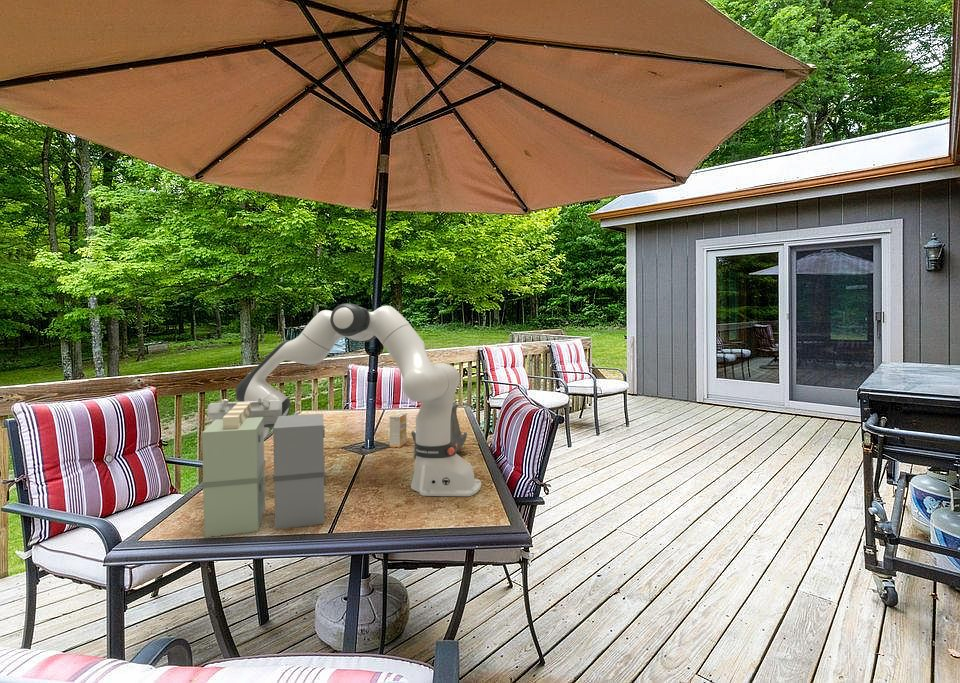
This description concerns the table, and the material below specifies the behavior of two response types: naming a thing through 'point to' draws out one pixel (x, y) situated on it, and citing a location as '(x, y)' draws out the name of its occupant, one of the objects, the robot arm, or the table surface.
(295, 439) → the grey crate stack
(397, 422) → the supplement box
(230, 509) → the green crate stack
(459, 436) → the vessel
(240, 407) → the wooden bar
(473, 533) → the table surface
